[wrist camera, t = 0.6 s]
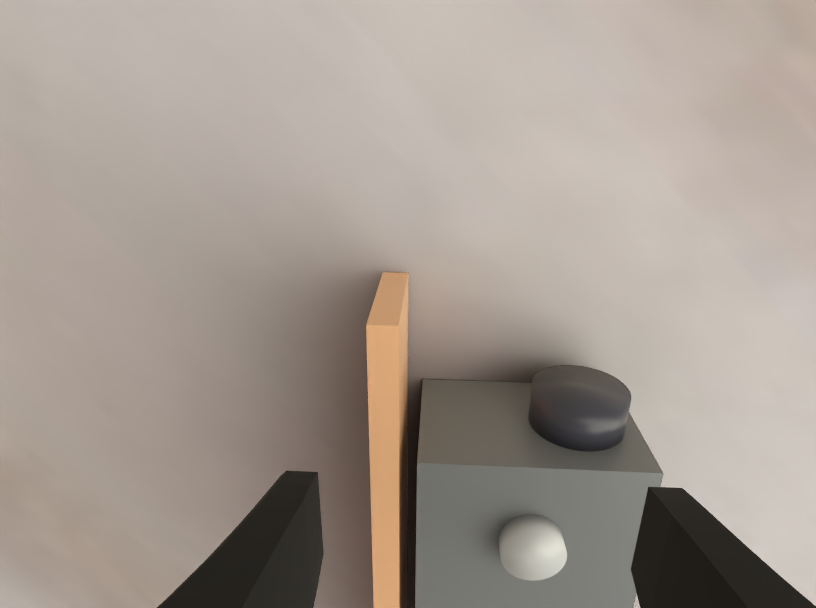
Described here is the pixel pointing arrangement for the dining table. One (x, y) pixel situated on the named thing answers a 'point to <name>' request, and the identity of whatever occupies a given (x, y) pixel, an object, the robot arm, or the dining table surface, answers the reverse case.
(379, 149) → the dining table surface
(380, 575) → the long wooden block
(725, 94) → the dining table surface
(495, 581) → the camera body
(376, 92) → the dining table surface
